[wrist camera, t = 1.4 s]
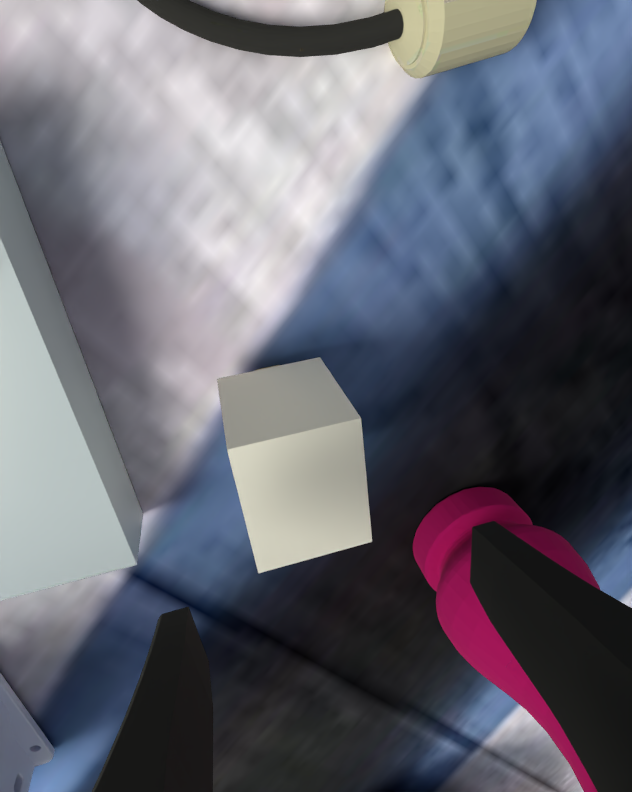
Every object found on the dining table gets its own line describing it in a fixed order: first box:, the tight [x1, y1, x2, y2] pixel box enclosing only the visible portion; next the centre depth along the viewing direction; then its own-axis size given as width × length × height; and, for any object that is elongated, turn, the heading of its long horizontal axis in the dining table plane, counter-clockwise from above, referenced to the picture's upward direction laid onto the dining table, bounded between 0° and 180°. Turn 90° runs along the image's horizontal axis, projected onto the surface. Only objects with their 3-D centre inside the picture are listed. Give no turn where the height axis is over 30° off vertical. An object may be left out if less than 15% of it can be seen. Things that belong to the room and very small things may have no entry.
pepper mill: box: [413, 487, 600, 792], centre depth 18 cm, size 7×7×20 cm
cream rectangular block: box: [217, 357, 372, 573], centre depth 18 cm, size 5×4×6 cm
